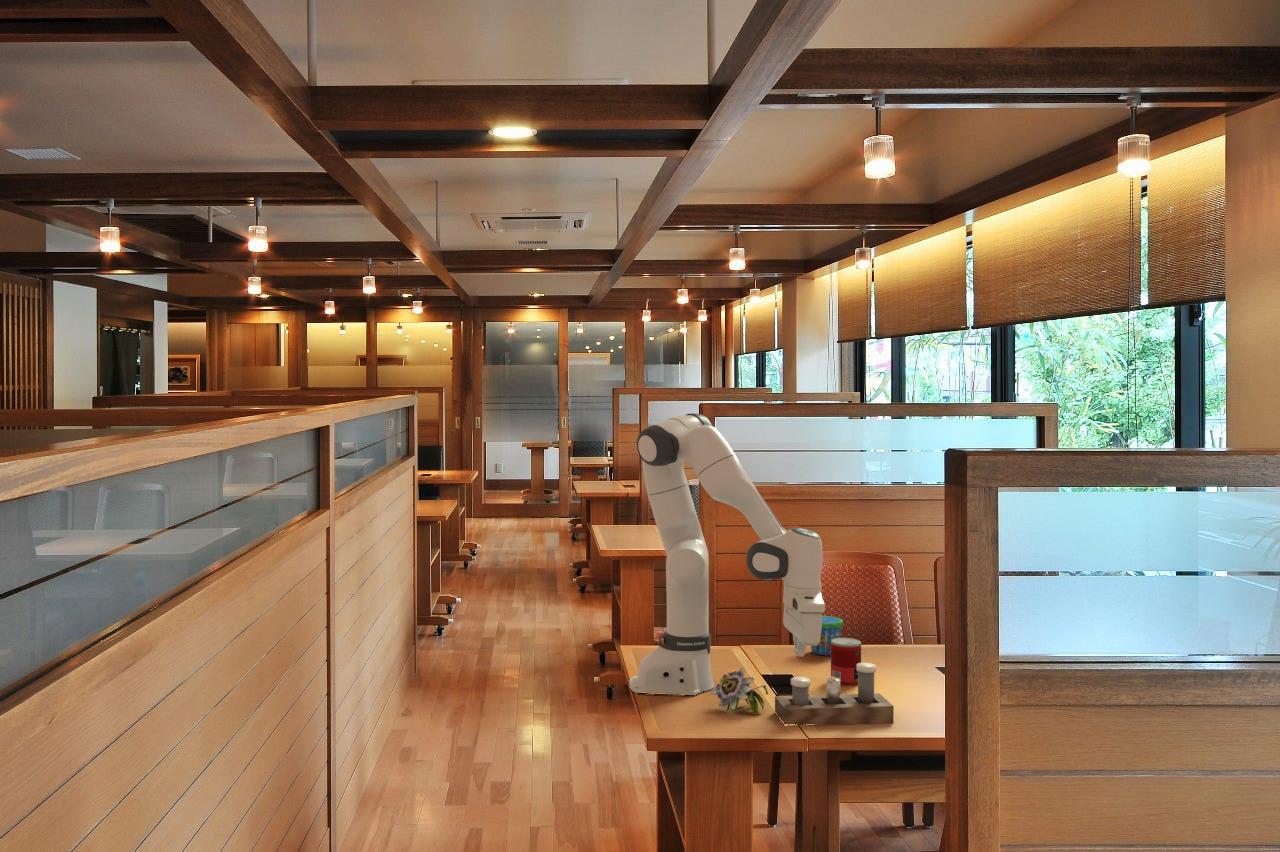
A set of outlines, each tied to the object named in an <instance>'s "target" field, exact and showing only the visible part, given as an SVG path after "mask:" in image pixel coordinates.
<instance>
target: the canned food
mask: <svg viewBox="0 0 1280 852" xmlns="http://www.w3.org/2000/svg"><path fill="white" fill-rule="evenodd" d="M858 663H862V641H860V640H859V639H856V638H851V637H850V638H849V637H840V638H835V639H832V640H831V655H830V677H831V676H833V677H834V678H839V679H840V686H856V685H857V686H858V671H857V670H856V665H857V664H858Z"/></svg>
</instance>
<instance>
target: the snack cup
mask: <svg viewBox="0 0 1280 852" xmlns="http://www.w3.org/2000/svg"><path fill="white" fill-rule="evenodd" d="M843 625H844V621H843V619H842V618H839V617H835V616H831V615H830V616H829V615H822V629H821V638H820V642H819V644H818V645H817V646H810V649H811V653H813V654H816V655H818V656H831V640H832V639H835V638H841V629H842V627H843Z"/></svg>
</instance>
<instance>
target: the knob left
mask: <svg viewBox="0 0 1280 852" xmlns="http://www.w3.org/2000/svg"><path fill="white" fill-rule="evenodd" d="M790 685H791V686H792V691H791V692H792V695H791V696H792V705H793V706H795V705H809V695H810V693H809V692H810V691H809V687H810V686H811V679H810V678H809V677H804V676H795V677H791V678H790Z"/></svg>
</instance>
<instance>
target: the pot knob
mask: <svg viewBox="0 0 1280 852" xmlns="http://www.w3.org/2000/svg"><path fill="white" fill-rule="evenodd" d="M840 694H841V685H840V679H839V678H834V677H833V676H831V675H830V677H827V678H826V695H827V705H830V704H840Z"/></svg>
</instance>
